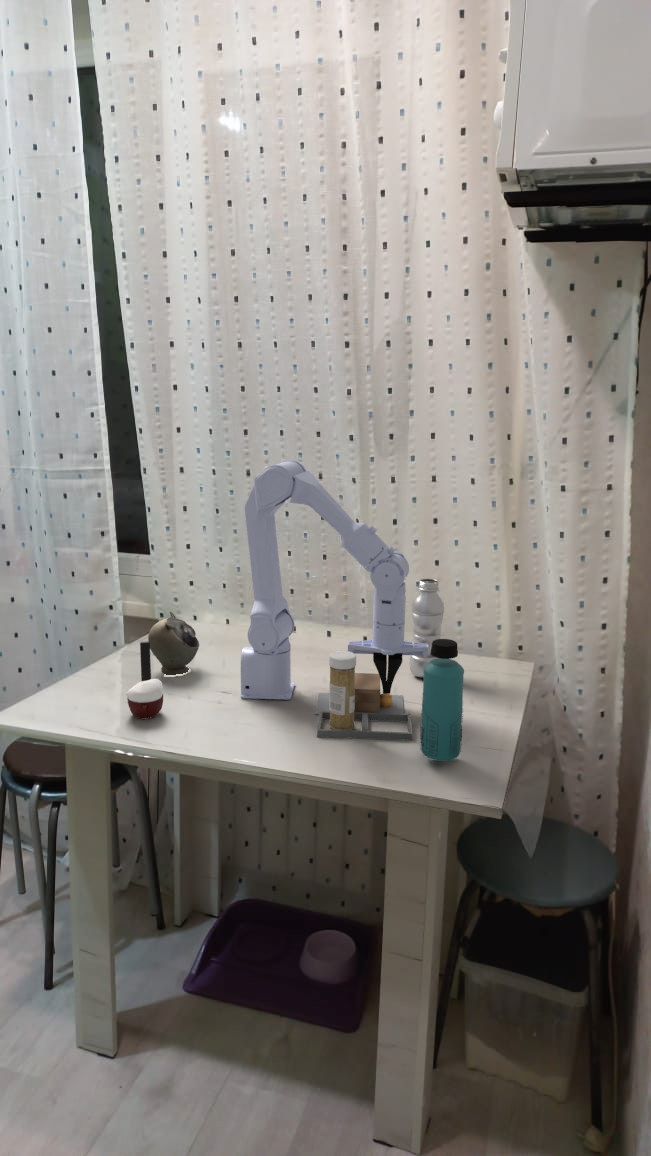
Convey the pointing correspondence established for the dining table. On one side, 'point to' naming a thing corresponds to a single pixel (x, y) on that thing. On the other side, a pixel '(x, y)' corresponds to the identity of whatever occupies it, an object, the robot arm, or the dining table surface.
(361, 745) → the dining table surface
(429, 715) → the beverage bottle
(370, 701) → the cardboard box
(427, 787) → the dining table surface
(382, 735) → the socket frames
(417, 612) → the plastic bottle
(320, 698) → the board
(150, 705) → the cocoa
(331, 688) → the spice jar
